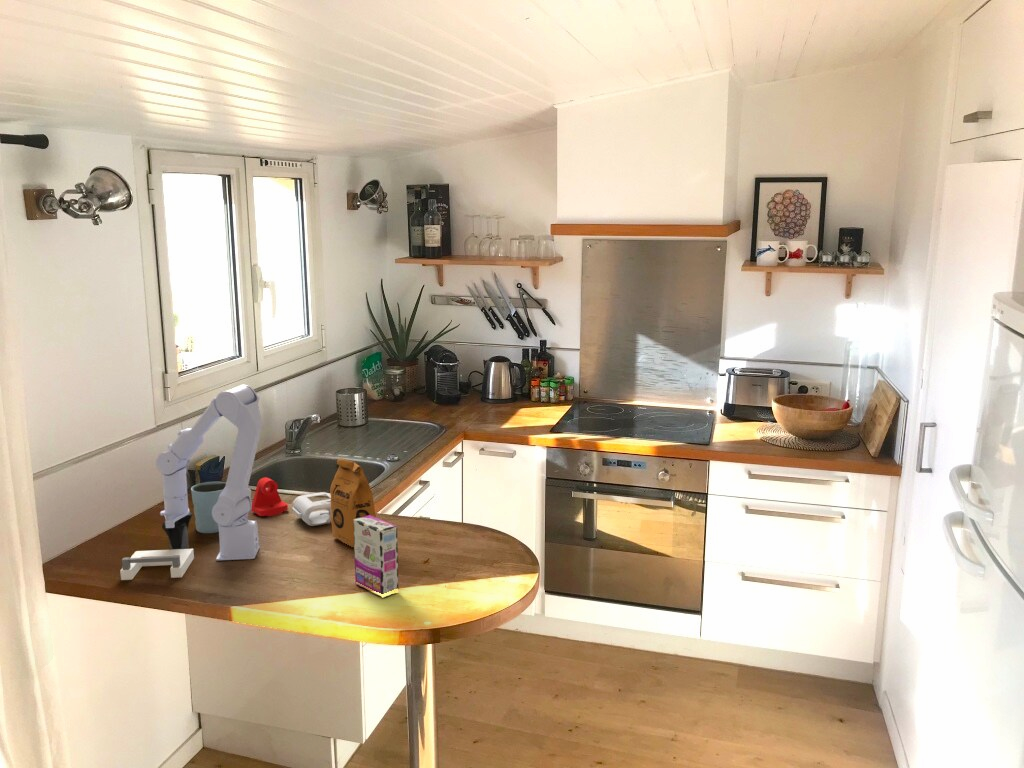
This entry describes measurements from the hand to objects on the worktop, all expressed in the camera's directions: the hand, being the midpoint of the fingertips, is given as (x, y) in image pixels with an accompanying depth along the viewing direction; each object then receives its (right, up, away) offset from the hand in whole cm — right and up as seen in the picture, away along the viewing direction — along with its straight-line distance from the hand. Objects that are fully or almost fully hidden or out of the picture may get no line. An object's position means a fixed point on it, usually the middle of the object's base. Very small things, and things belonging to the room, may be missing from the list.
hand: (179, 544), depth 221 cm
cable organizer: (+31, +2, +22) cm, 38 cm away
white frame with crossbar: (0, -4, -12) cm, 12 cm away
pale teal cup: (+3, +2, +16) cm, 17 cm away
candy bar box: (+55, -6, -23) cm, 60 cm away
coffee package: (+45, 0, +7) cm, 45 cm away
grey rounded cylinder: (0, -1, 0) cm, 1 cm away
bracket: (+16, +4, +29) cm, 33 cm away
